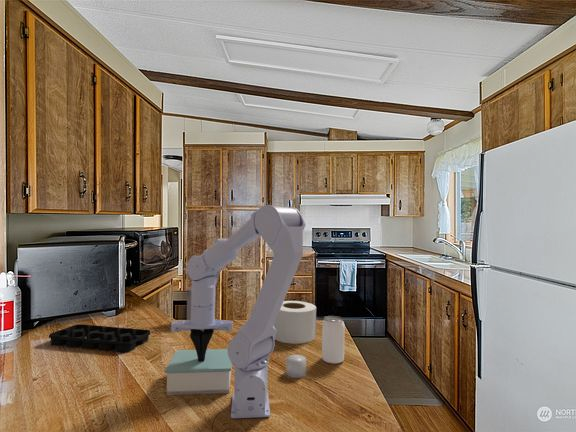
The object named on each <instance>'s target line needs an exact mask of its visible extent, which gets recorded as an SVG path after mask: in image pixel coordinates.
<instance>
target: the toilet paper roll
mask: <svg viewBox="0 0 576 432" xmlns="http://www.w3.org/2000/svg"><path fill="white" fill-rule="evenodd" d="M273 326H274V327H275V329H276V330H277V333H276V335H275V341H277V342H279V343H284V344H294V345H295V344H296V345H297V344H306V343H310V342H312V341H313V340H315V338H316V337H317V336H316V333H317V306H316V305H315V304H313V303H311V302H306V301H301V300H284V301H283V304H282V306H281V308H280V311H279V313H278V316H277V318H276V320H275V323H274V325H273Z"/></svg>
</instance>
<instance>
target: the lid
mask: <svg viewBox="0 0 576 432" xmlns="http://www.w3.org/2000/svg"><path fill="white" fill-rule="evenodd" d="M227 349H228V348H221V349H220V348H217V349H214V348H213V349H207V350H206V354H205V360H204V362H198V356H197V352H196V349H176V351H175V353H174V354H173V356H172V357H171V360H170V361H169V362H168V365H167V366H166V368H165V369H164V373H165V374H167V373H179V372H214V371H231V368H232V369H233V364H232V362H231V361H230V359H229V356H228V350H227Z"/></svg>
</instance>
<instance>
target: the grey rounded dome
mask: <svg viewBox="0 0 576 432" xmlns="http://www.w3.org/2000/svg"><path fill="white" fill-rule="evenodd" d="M285 364H286V368H285V370H286V371H285V374H286V375H287V377H289V378H291V379H300V378H304V377H305V376H306V373H307V358H306V356H304V355H302V354H291V355H287V357H286V362H285Z"/></svg>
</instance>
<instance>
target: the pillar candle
mask: <svg viewBox="0 0 576 432" xmlns="http://www.w3.org/2000/svg"><path fill="white" fill-rule="evenodd" d="M191 291H192V285H191V286H189V287H187V288H186V320H191Z"/></svg>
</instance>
